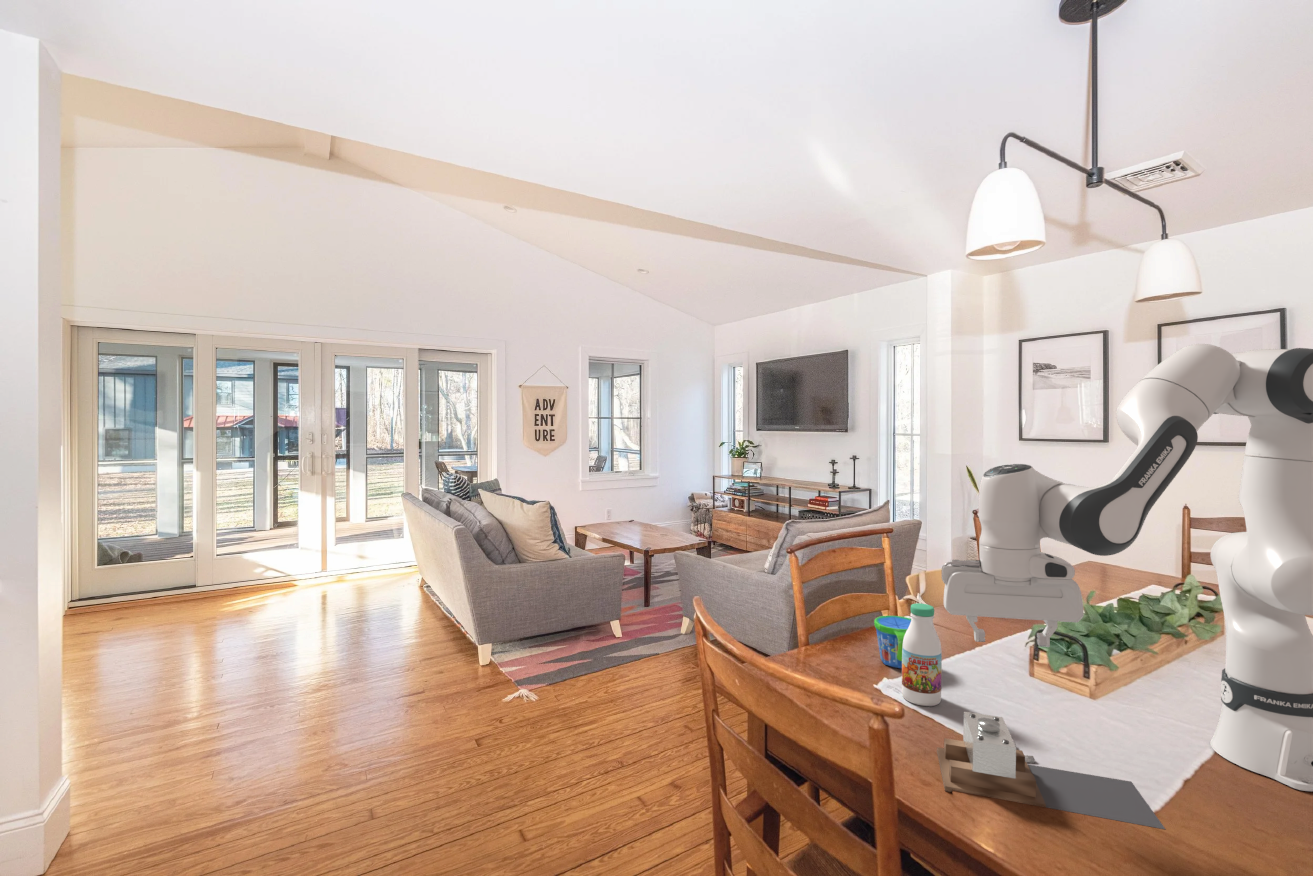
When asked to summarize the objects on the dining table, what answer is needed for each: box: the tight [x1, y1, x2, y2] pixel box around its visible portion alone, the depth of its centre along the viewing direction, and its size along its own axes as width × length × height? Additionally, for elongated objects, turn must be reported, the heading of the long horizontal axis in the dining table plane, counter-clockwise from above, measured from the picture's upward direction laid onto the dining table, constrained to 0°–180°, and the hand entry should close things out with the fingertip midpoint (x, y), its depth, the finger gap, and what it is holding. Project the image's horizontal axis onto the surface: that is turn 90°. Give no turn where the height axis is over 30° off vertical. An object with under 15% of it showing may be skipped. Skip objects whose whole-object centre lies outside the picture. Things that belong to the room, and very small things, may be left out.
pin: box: [1024, 754, 1036, 764], centre depth 105 cm, size 4×1×1 cm
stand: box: [936, 737, 1046, 808], centre depth 100 cm, size 14×12×3 cm
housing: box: [962, 711, 1017, 779], centre depth 100 cm, size 10×6×6 cm, turn 161°
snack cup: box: [873, 615, 912, 669], centre depth 146 cm, size 16×10×10 cm
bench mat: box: [1027, 763, 1166, 830], centre depth 95 cm, size 16×12×1 cm
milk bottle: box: [901, 602, 943, 707], centre depth 128 cm, size 8×8×20 cm
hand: (1010, 643), depth 101 cm, fingers open, 8 cm apart
